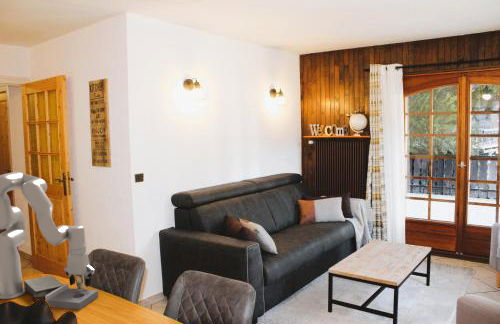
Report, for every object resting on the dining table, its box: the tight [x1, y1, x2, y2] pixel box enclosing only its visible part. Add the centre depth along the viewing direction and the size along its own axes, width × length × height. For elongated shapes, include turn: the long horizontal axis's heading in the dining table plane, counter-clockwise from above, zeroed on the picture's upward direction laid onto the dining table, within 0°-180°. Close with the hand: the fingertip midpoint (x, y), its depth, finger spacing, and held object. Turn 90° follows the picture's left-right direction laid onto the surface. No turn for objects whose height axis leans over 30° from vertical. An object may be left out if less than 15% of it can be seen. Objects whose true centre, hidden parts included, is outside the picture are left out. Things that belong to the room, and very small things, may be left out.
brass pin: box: [75, 275, 86, 289], centre depth 211 cm, size 4×4×9 cm
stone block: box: [23, 274, 64, 301], centre depth 212 cm, size 14×20×5 cm
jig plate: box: [44, 283, 100, 310], centre depth 200 cm, size 18×14×5 cm
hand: (80, 284), depth 212 cm, fingers open, 8 cm apart
